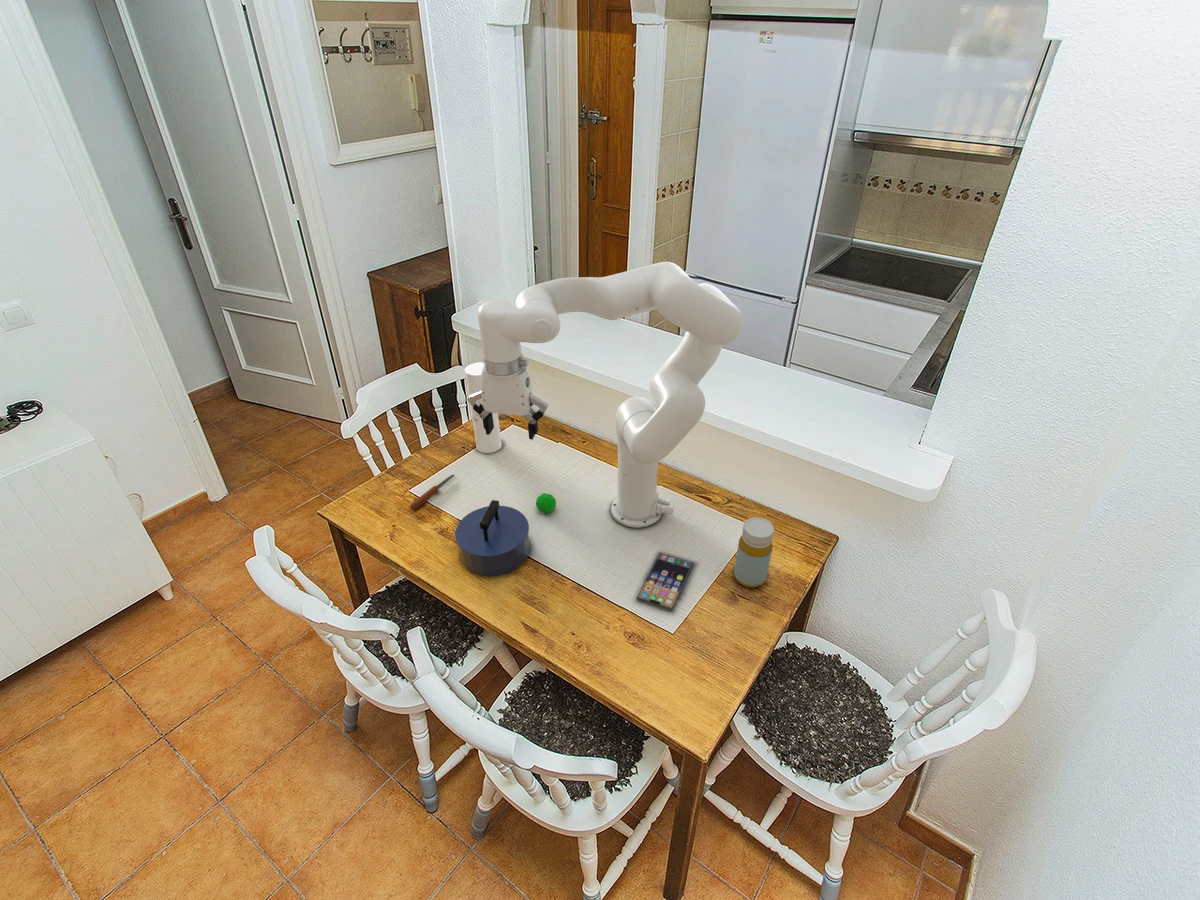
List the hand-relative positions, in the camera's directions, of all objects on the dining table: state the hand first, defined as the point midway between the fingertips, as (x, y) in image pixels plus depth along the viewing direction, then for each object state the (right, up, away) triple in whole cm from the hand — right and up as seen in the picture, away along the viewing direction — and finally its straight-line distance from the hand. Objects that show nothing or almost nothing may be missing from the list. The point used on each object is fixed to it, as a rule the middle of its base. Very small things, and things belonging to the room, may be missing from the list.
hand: (511, 433), depth 136 cm
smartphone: (+34, -33, +3) cm, 47 cm away
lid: (-5, -22, +7) cm, 24 cm away
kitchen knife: (-24, -15, +28) cm, 40 cm away
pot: (-5, -27, +11) cm, 30 cm away
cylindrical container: (-13, -2, +46) cm, 47 cm away
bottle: (+52, -32, +4) cm, 61 cm away
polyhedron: (+6, -19, +22) cm, 30 cm away
